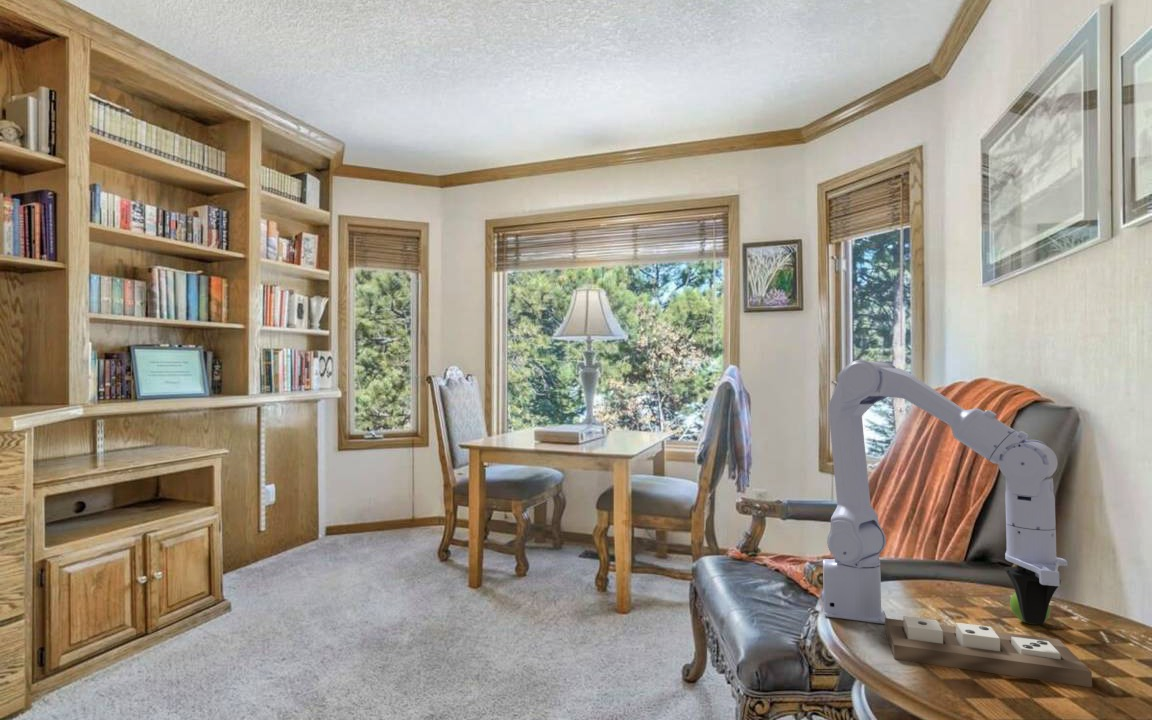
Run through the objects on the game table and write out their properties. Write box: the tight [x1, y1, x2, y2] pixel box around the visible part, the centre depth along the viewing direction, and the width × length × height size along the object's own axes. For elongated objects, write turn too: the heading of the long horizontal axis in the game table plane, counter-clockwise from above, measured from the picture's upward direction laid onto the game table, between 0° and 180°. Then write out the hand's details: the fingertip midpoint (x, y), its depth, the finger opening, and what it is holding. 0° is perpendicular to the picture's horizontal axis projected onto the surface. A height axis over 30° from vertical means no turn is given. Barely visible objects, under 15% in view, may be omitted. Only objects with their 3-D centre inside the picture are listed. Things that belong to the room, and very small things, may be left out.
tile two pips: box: [955, 622, 1000, 651], centre depth 88 cm, size 4×4×3 cm
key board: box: [884, 617, 1093, 688], centre depth 88 cm, size 23×11×2 cm, turn 69°
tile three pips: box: [1011, 637, 1061, 659], centre depth 85 cm, size 4×4×3 cm
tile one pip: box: [902, 616, 943, 644], centre depth 90 cm, size 4×4×3 cm
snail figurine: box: [1009, 563, 1051, 625], centre depth 100 cm, size 5×6×12 cm
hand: (1033, 622), depth 85 cm, fingers closed
